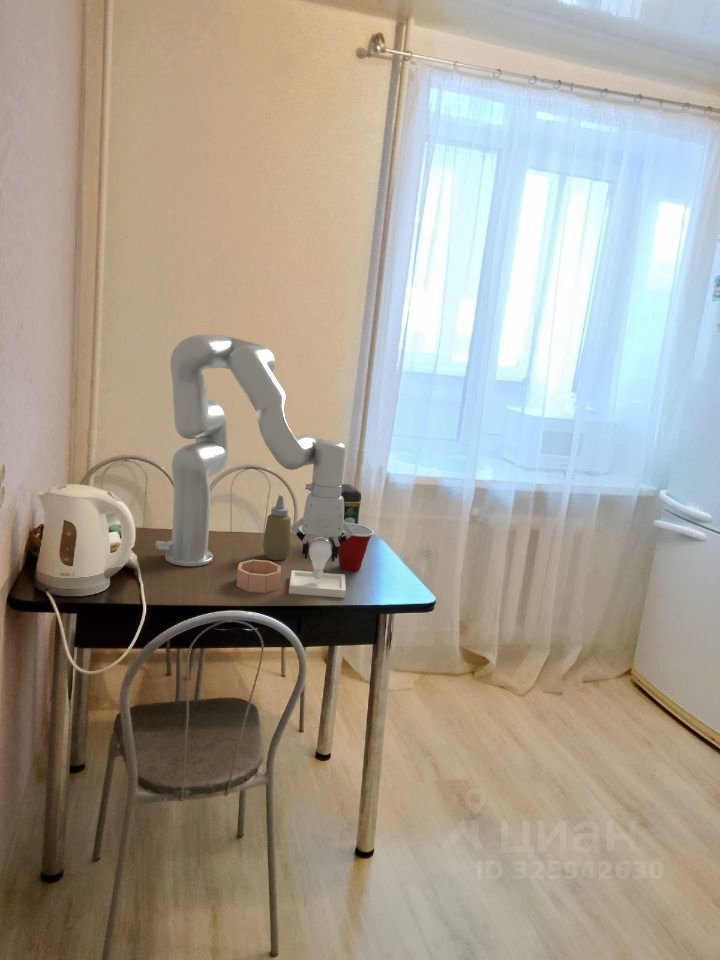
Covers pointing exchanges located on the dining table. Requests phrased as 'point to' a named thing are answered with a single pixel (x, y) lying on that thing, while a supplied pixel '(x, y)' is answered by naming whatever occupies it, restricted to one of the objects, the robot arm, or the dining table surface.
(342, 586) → the tray
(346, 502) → the coffee jar
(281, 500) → the squeeze bottle
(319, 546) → the lightbulb
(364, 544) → the plastic cup
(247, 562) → the terracotta octagonal ring
